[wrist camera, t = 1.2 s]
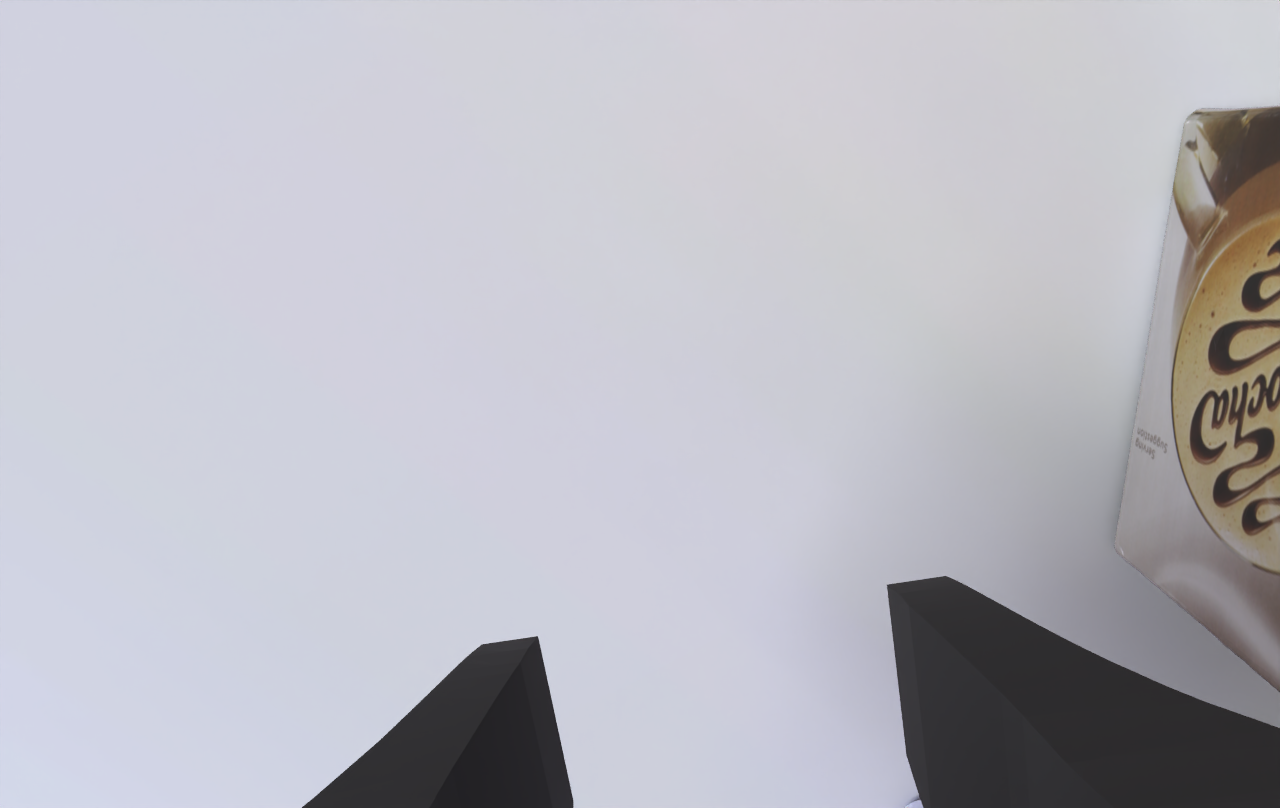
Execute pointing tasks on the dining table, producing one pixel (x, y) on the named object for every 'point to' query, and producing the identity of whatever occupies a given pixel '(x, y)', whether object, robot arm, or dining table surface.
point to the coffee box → (1215, 392)
